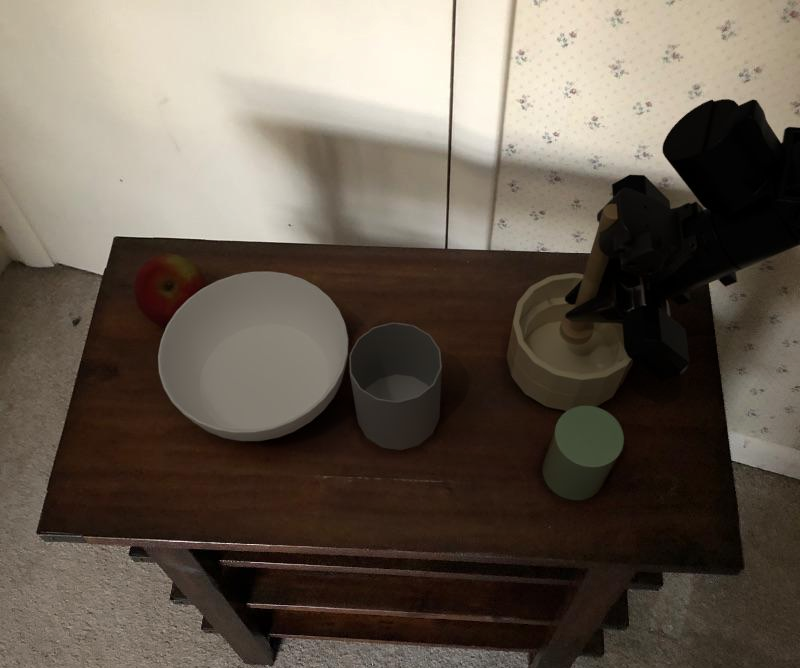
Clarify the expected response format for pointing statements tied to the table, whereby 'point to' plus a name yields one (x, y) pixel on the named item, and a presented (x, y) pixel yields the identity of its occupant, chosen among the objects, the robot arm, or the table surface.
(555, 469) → the green cylinder pedestal
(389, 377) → the cup
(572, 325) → the stirring stick
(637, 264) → the robot arm
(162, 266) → the apple
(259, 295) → the bowl
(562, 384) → the mixing bowl
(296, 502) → the table surface
